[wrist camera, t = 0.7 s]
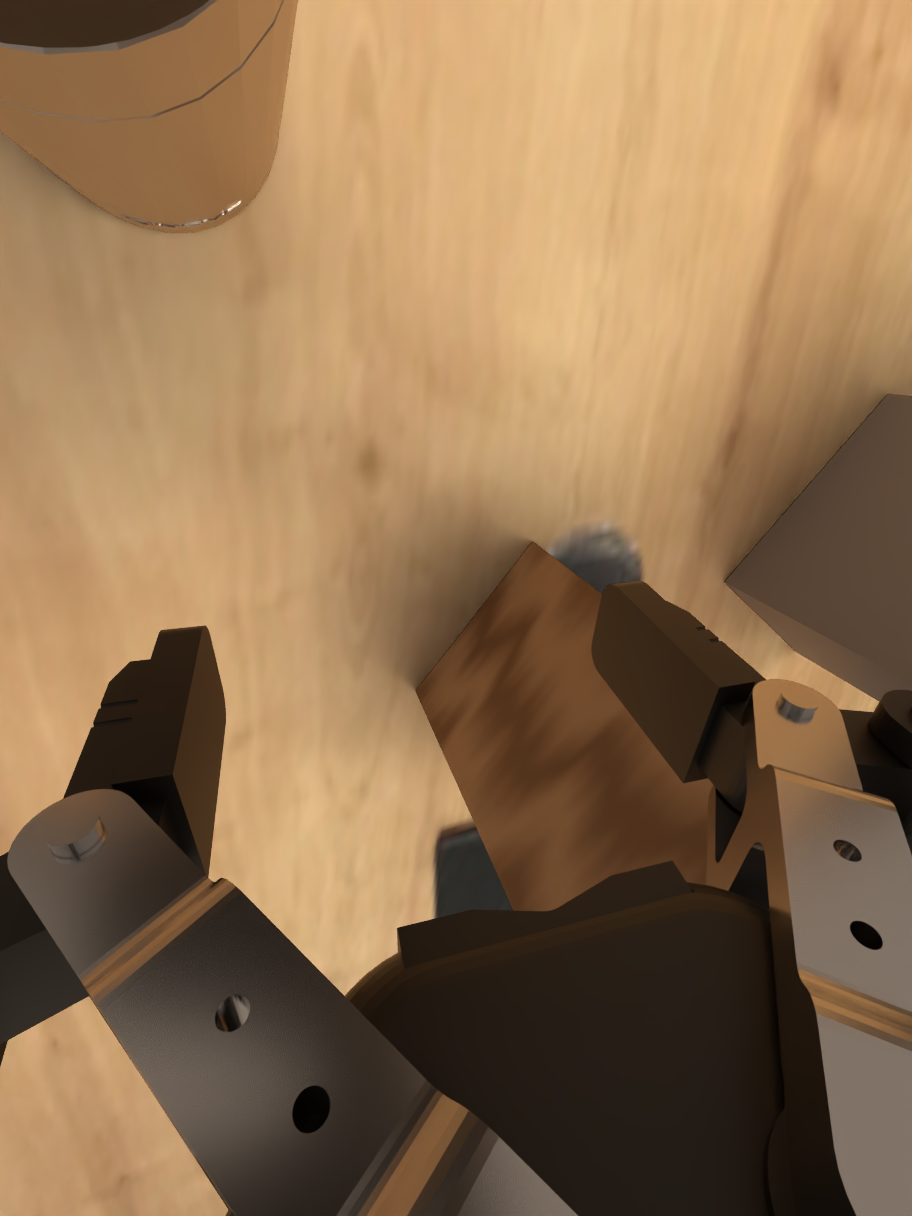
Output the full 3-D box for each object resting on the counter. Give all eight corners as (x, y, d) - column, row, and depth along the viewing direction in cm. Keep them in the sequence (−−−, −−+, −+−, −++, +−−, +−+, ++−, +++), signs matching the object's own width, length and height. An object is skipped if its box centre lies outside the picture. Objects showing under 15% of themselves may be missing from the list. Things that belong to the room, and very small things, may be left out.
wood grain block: (521, 743, 41) (953, 1412, 16) (415, 691, 36) (801, 1553, 11) (628, 615, 38) (1327, 1151, 13) (532, 541, 34) (1359, 1173, 8)
